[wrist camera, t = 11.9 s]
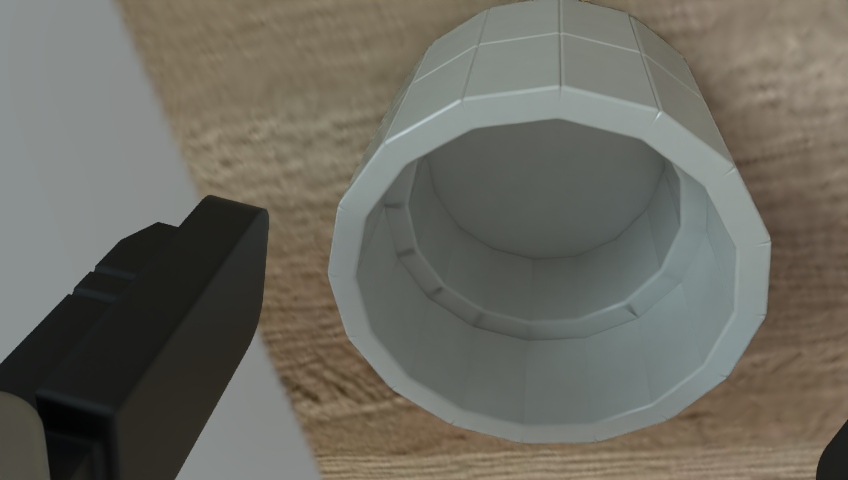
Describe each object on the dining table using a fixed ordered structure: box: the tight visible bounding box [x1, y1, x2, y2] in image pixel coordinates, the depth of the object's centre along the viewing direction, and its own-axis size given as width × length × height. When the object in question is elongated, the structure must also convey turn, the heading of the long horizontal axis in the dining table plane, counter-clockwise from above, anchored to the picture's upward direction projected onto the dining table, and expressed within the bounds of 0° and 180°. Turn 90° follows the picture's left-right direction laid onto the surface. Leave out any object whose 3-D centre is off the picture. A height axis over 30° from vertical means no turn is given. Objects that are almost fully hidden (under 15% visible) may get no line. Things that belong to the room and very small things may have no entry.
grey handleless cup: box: [328, 0, 772, 444], centre depth 12 cm, size 6×6×5 cm
